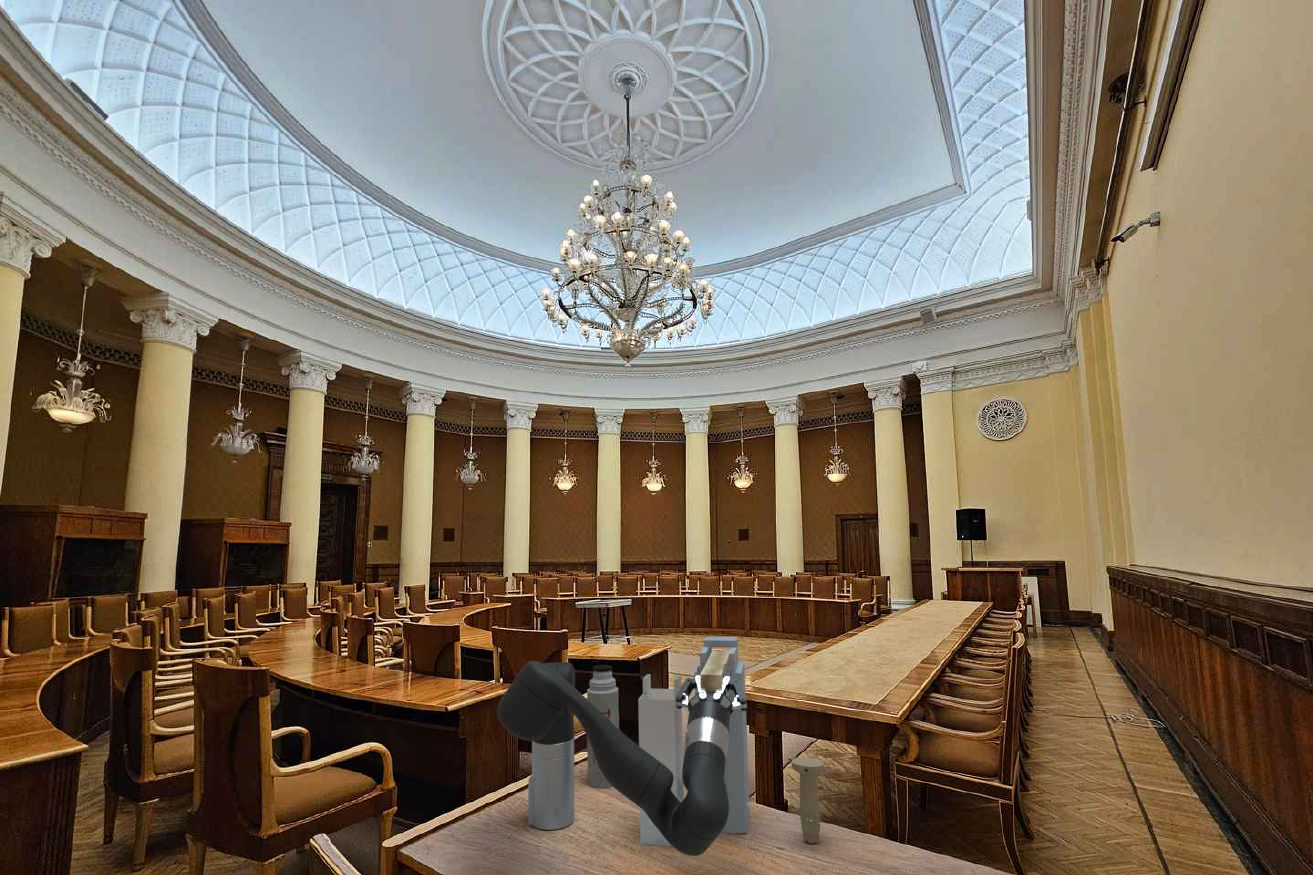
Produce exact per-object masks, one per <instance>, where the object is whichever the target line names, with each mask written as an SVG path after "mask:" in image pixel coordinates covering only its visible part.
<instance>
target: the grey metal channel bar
mask: <svg viewBox="0 0 1313 875" xmlns="http://www.w3.org/2000/svg"><path fill="white" fill-rule="evenodd" d="M651 677H652V676H651V674H650V673H649V674H648V673H647V674H645V676H644V677H643V678H642V694H641V695H640V697H638V700H637V701H638V702H637V703H638V746H639V747H641V748H642V749H643V750H645V751H646V752H647V753H649V754H650V755H652V756H653V757H654V758H656V759H657V760H658V761H660V763H662V764H664V765H665V766H666V767H667V768H668V769H669V770H670V771H671V772H672V774H673V784H672V787H671V791H672V792H673V794H674V795H675V796H676V798H677V799H678V800H679V801H680V802H682V801H683V800H684V798H685V794H684V792H685V790H684V788H685V786H684V784H683V780H682V769H683V762H684V751H683V749H684V747H683V743H684V742H683V712H682V711H683V710H682V709H683V707H682V708H681V709H677V708H676V700H675V696H676V694H677V693H678V691H679V690H680V688H681V686H682V674H677V675H676V676H675V678H674V679H673V688H652V680H651ZM639 823H640V825H639V826H640V827H639V831H640V832H639V833H640V835H639V836H640V845H646V846H657V847H659V846H661V847H670V848H671V847H672V848H674V847H673V846H672V845H671V844H670V843H669V842H668V841H667V840H666V839H665V838H664V836H663V835H662V834H661V832H660V831H659V830H658V829H657V827H656V826H655V825H654V824H653V823H652V821H651V820H650V819H649V817H648V816H647V814H646V813H645V812H644V810H643V809H642V808H640V807H639Z"/></svg>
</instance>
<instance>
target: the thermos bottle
mask: <svg viewBox="0 0 1313 875" xmlns="http://www.w3.org/2000/svg"><path fill="white" fill-rule="evenodd" d="M612 670H613V666H611V665H610V664H609V665H608V664H600V665H594V666H593V667H592V671H593V672H592V678H591V679H590V680H589V688H587V690H586V699H588V700H589V701H590V702H591V703H592V704H593V705H594V706H595V707H596V708H597V709H598V710H599V711H601V712H602V713H603V714H604V715H605V716H606V717H607V718H608V719H609V720H610V721H611V722H612V723H613V724H614V725H615V726H616V727H617V728H618V729H619V730H620V726H619V725H620V724H619V723H620V721H619V719H620V717H619V716H620V715H619V713H620V712H619V688H618V687H617V686H616V684H617V683H616V682H617V681H616V678H614V677H613V671H612ZM586 737H587V736H586ZM586 739H587V743H586V745H587V746H586V747H587V756H586V757H587V785H588V786H590V787H592V788H595V789H597V788H599V789H604V788H611V787H613V786H612V785H611V784H610V783H609V782H608V781H607V779H606V778H605V777H604V775H603V773H602V772H601V770H600V768H599V765H598V763H597V760H596V758H595V755H594V753H593V750H592V747H591V745H590V742H589V739H588V737H587V738H586Z"/></svg>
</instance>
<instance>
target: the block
mask: <svg viewBox="0 0 1313 875" xmlns="http://www.w3.org/2000/svg"><path fill="white" fill-rule="evenodd" d="M729 651H730V650H728V651H727V650H712V653H711V655H710V657H709V658H708V660H707V662H706V664H705V667H704V668H703V670H702V672H701V674H700V687H702V688H704V689H705V691H710V692H716V691H717V689H718V688H722V681H723V671H724V669H723V668H724V664H728V667H729Z"/></svg>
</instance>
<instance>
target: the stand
mask: <svg viewBox="0 0 1313 875" xmlns="http://www.w3.org/2000/svg"><path fill="white" fill-rule="evenodd" d="M738 638H739V637H738V636H705V637H704V639H703V647H702V649H701V651H700V652H699V664H698V666H701V663H704V664H706V662H707V660H708V658H709V657H710V655H711V653H712V651H713V648H726V649H727V648H729V650H728V651H729V667H730V668H731V679H732V680H734V679H738V680H739V682H740V684H741V687H742V689H743V692H744V694H745V697H746V679H745V678H746V675H745V674H746V673H745V671H746V670H745V668H746V667H745V661H739V639H738ZM698 666H697V667H698ZM696 673H697V668H696V669H695V671H694V678H695V677H696ZM697 693H698V692H697V688H695V689H694V696H695V695H696V694H697ZM735 697H736V696H735V693H734V690H730V691H729V694H728V698H729V699H730V700H731V702H732V703H733V702H734V701H735V700H734V699H735ZM746 698H747V697H746ZM747 728H748V726H747V710H746V711H741V709H736V710H733V713H732V714H731V716H730V726H729V740H728V751H727V755H726V761H725V774H724V780H725V784H726V789H727V794H728V800H729V814H728V819H727V822H726V825H725V827H724V829H723V830H722V831H721V833H722V834H723V833H726V834H737V833H747V834H748V826H749V819H750V811H751V810H749V809H750V807H748V806H750V785H749V782H750V781H749V780H750V779H749V755H748V730H747ZM747 803H749V805H748V804H747ZM748 818H749V819H748Z"/></svg>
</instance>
